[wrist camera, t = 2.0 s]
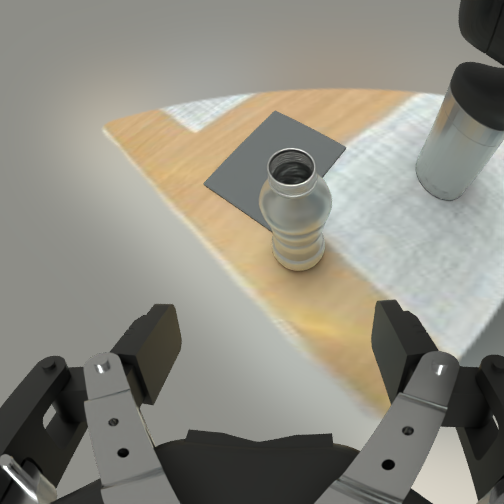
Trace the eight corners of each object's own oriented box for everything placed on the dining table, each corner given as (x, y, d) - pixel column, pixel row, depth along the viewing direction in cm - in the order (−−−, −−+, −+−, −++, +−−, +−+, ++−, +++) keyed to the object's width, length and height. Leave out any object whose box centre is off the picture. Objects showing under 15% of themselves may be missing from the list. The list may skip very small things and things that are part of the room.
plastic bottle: (281, 223, 43) (260, 127, 24) (329, 235, 41) (342, 142, 22) (267, 267, 41) (234, 194, 22) (317, 280, 39) (326, 214, 21)
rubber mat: (275, 112, 49) (275, 110, 49) (345, 148, 45) (346, 147, 44) (204, 184, 47) (203, 183, 46) (275, 234, 42) (275, 233, 42)
